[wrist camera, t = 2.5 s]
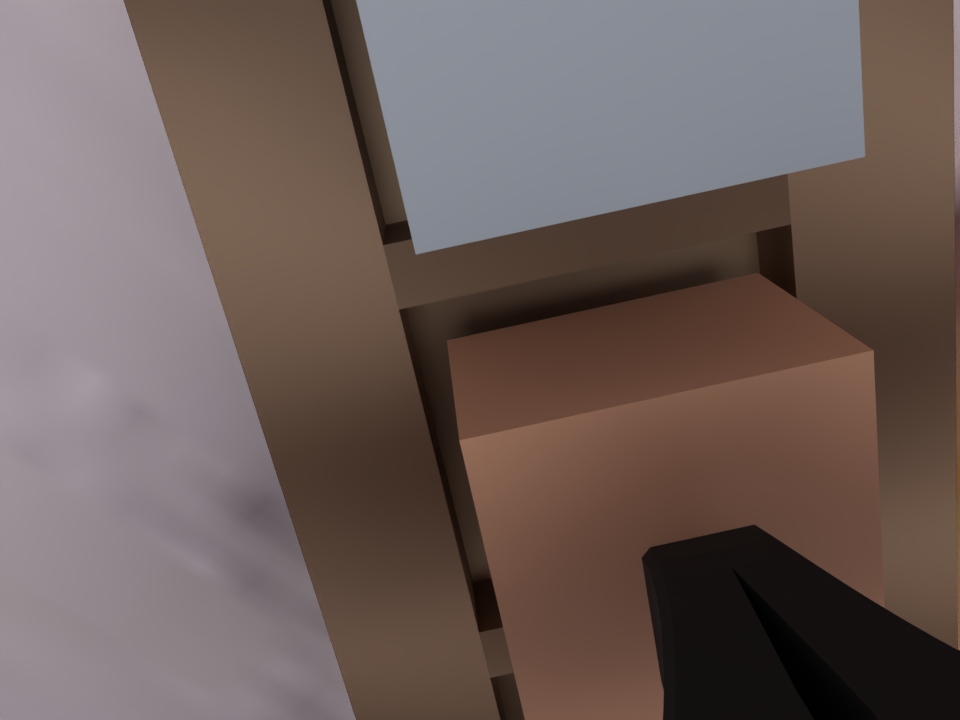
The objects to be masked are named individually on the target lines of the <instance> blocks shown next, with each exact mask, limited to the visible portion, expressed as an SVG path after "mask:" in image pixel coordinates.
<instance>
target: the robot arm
mask: <svg viewBox="0 0 960 720" xmlns="http://www.w3.org/2000/svg"><path fill="white" fill-rule="evenodd" d="M642 564H643V570H644V576H645V583H646V589H647V595H648V601H649V608H650V614H651V620H652V626H653V633H654V639H655V645H656V651H657V658H658V664H659V670H660V676H661V683H662V686H663V689H664V703H663V720H960V651H959V650H957V649H955V648H953V647H952V646H950V645H948V644H946V643H944V642H942V641H940V640H939V639H937V638H935V637H933V636H932V635H930V634H928V633H926V632H925V631H923V630H921V629H919V628H918V627H916V626H914V625H912V624H911V623H909V622H907V621H905V620H904V619H902V618H900V617H899V616H897V615H895V614H894V613H892V612H890V611H889V610H887V609H885V608H884V607H882V606H880V605H879V604H877V603H876V602H874V601H872V600H871V599H869V598H867V597H866V596H864V595H862V594H861V593H859V592H858V591H856V590H854V589H853V588H851V587H850V586H848V585H847V584H845V583H843V582H842V581H840V580H839V579H837V578H836V577H834V576H833V575H831V574H830V573H828V572H826V571H825V570H823V569H822V568H820V567H819V566H817V565H816V564H814V563H813V562H811V561H810V560H808V559H807V558H805V557H804V556H802V555H801V554H799V553H797V552H796V551H794V550H793V549H791V548H790V547H788V546H787V545H785V544H784V543H782V542H781V541H779V540H778V539H776V538H775V537H773V536H772V535H770V534H769V533H767V532H766V531H764V530H763V529H761V528H759V527H758V526H756V525H750V526H745V527H741V528H736V529H732V530H727V531H722V532H718V533H713V534H709V535H704V536H699V537H695V538H690V539H686V540H681V541H676V542H672V543H667V544H663V545H658V546H653V547H650V548H649V549H648V550H647V552H646V553H645V554H644V555H643V557H642Z"/></svg>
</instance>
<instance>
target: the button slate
mask: <svg viewBox="0 0 960 720" xmlns="http://www.w3.org/2000/svg"><path fill="white" fill-rule="evenodd" d="M356 2H357V7H358V11H359V15H360V19H361V24H362V28H363V32H364V37H365V41H366V45H367V49H368V54H369V58H370V62H371V66H372V71H373V75H374V79H375V83H376V88H377V92H378V96H379V100H380V105H381V109H382V113H383V117H384V122H385V126H386V130H387V134H388V139H389V143H390V147H391V152H392V156H393V160H394V164H395V169H396V173H397V177H398V181H399V186H400V190H401V194H402V198H403V203H404V207H405V211H406V215H407V220H408V224H409V228H410V232H411V237H412V241H413V245H414V249H415V254H420V253H425V252H430V251H434V250H439V249H443V248H448V247H453V246H457V245H462V244H466V243H471V242H476V241H480V240H485V239H489V238H494V237H499V236H503V235H508V234H512V233H517V232H522V231H526V230H531V229H535V228H540V227H545V226H549V225H554V224H558V223H563V222H568V221H572V220H577V219H581V218H586V217H591V216H595V215H600V214H604V213H609V212H614V211H618V210H623V209H627V208H632V207H637V206H641V205H646V204H650V203H655V202H659V201H664V200H669V199H673V198H678V197H682V196H687V195H692V194H696V193H701V192H705V191H710V190H715V189H719V188H724V187H728V186H733V185H738V184H742V183H747V182H751V181H756V180H761V179H765V178H770V177H774V176H779V175H784V174H788V173H793V172H797V171H802V170H807V169H811V168H816V167H820V166H825V165H830V164H834V163H839V162H843V161H848V160H853V159H857V158H862V157H865V139H864V116H863V92H862V69H861V46H860V23H859V0H356Z"/></svg>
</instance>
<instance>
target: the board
mask: <svg viewBox="0 0 960 720" xmlns="http://www.w3.org/2000/svg"><path fill="white" fill-rule="evenodd" d="M124 3H125V6H126V9H127V12H128V15H129V19H130V22H131V25H132V28H133V31H134V34H135V37H136V40H137V43H138V46H139V49H140V53H141V56H142V59H143V62H144V65H145V68H146V71H147V74H148V77H149V80H150V83H151V87H152V90H153V93H154V96H155V99H156V102H157V105H158V108H159V111H160V114H161V117H162V121H163V124H164V127H165V130H166V133H167V136H168V139H169V142H170V145H171V148H172V151H173V155H174V158H175V161H176V164H177V167H178V170H179V173H180V176H181V179H182V182H183V185H184V189H185V192H186V195H187V198H188V201H189V204H190V207H191V210H192V213H193V216H194V219H195V223H196V226H197V229H198V232H199V235H200V238H201V241H202V244H203V247H204V250H205V253H206V257H207V260H208V263H209V266H210V269H211V272H212V275H213V278H214V281H215V284H216V287H217V291H218V294H219V297H220V300H221V303H222V306H223V309H224V312H225V315H226V318H227V321H228V325H229V328H230V331H231V334H232V337H233V340H234V343H235V346H236V349H237V352H238V355H239V359H240V362H241V365H242V368H243V371H244V374H245V377H246V380H247V383H248V386H249V389H250V393H251V396H252V399H253V402H254V405H255V408H256V411H257V414H258V417H259V420H260V423H261V427H262V430H263V433H264V436H265V439H266V442H267V445H268V448H269V451H270V454H271V457H272V461H273V464H274V467H275V470H276V473H277V476H278V479H279V482H280V485H281V488H282V491H283V495H284V498H285V501H286V504H287V507H288V510H289V513H290V516H291V519H292V522H293V525H294V529H295V532H296V535H297V538H298V541H299V544H300V547H301V550H302V553H303V556H304V559H305V563H306V566H307V569H308V572H309V575H310V578H311V581H312V584H313V587H314V590H315V593H316V597H317V600H318V603H319V606H320V609H321V612H322V615H323V618H324V621H325V624H326V627H327V631H328V634H329V637H330V640H331V643H332V646H333V649H334V652H335V655H336V658H337V661H338V665H339V668H340V671H341V674H342V677H343V680H344V683H345V686H346V689H347V692H348V695H349V699H350V702H351V705H352V708H353V711H354V714H355V717H356V720H525V718H524V714H523V709H522V705H521V701H520V697H519V692H518V688H517V684H516V680H515V675H514V671H513V667H512V663H511V658H510V654H509V650H508V646H507V641H506V637H505V633H504V628H503V624H502V620H501V616H500V611H499V607H498V603H497V599H496V594H495V590H494V586H493V582H492V577H491V573H490V569H489V565H488V560H487V556H486V552H485V548H484V543H483V539H482V535H481V531H480V526H479V522H478V518H477V514H476V509H475V505H474V501H473V496H472V492H471V488H470V484H469V479H468V475H467V471H466V467H465V462H464V458H463V454H462V450H461V445H460V441H459V434H458V426H457V418H456V410H455V402H454V394H453V386H452V378H451V370H450V362H449V353H448V345H447V340H451V339H456V338H460V337H465V336H470V335H474V334H479V333H483V332H488V331H493V330H497V329H502V328H506V327H511V326H516V325H520V324H525V323H529V322H534V321H538V320H543V319H548V318H552V317H557V316H561V315H566V314H571V313H575V312H580V311H584V310H589V309H594V308H598V307H603V306H607V305H612V304H617V303H621V302H626V301H630V300H635V299H640V298H644V297H649V296H653V295H658V294H663V293H667V292H672V291H676V290H681V289H685V288H690V287H695V286H699V285H704V284H708V283H713V282H718V281H722V280H727V279H731V278H736V277H741V276H745V275H750V274H754V273H759V274H761V275H762V276H764V277H765V278H767V279H768V280H770V281H771V282H772V283H774V284H775V285H777V286H778V287H780V288H781V289H783V290H784V291H786V292H787V293H789V294H790V295H792V296H793V297H795V298H796V299H798V300H799V301H801V302H802V303H804V304H805V305H807V306H808V307H810V308H811V309H813V310H814V311H816V312H817V313H819V314H820V315H822V316H823V317H825V318H826V319H828V320H829V321H831V322H832V323H834V324H835V325H837V326H838V327H840V328H841V329H843V330H844V331H845V332H847V333H848V334H850V335H851V336H853V337H854V338H856V339H857V340H859V341H860V342H862V343H863V344H865V345H866V346H868V347H869V348H871V349H872V350H874V372H875V395H876V419H877V442H878V465H879V489H880V512H881V535H882V559H883V582H884V605H885V609H887V610H889V611H890V612H892V613H894V614H895V615H897V616H899V617H900V618H902V619H904V620H905V621H907V622H909V623H911V624H912V625H914V626H916V627H918V628H919V629H921V630H923V631H925V632H926V633H928V634H930V635H932V636H933V637H935V638H937V639H939V640H940V641H942V642H944V643H946V644H948V645H950V646H952V647H953V648H955V649H957V650H958V624H957V475H956V326H955V178H954V29H953V0H859V23H860V46H861V69H862V92H863V116H864V139H865V157H862V158H857V159H853V160H848V161H843V162H839V163H834V164H830V165H825V166H820V167H816V168H811V169H807V170H802V171H797V172H793V173H788V174H784V175H779V176H774V177H770V178H765V179H761V180H756V181H751V182H747V183H742V184H738V185H733V186H728V187H724V188H719V189H715V190H710V191H705V192H701V193H696V194H692V195H687V196H682V197H678V198H673V199H669V200H664V201H659V202H655V203H650V204H646V205H641V206H637V207H632V208H627V209H623V210H618V211H614V212H609V213H604V214H600V215H595V216H591V217H586V218H581V219H577V220H572V221H568V222H563V223H558V224H554V225H549V226H545V227H540V228H535V229H531V230H526V231H522V232H517V233H512V234H508V235H503V236H499V237H494V238H489V239H485V240H480V241H476V242H471V243H466V244H462V245H457V246H453V247H448V248H443V249H439V250H434V251H430V252H425V253H420V254H415V249H414V245H413V241H412V237H411V232H410V228H409V224H408V220H407V215H406V211H405V207H404V203H403V198H402V194H401V190H400V186H399V181H398V177H397V173H396V169H395V164H394V160H393V156H392V152H391V147H390V143H389V139H388V134H387V130H386V126H385V122H384V117H383V113H382V109H381V105H380V100H379V96H378V92H377V88H376V83H375V79H374V75H373V71H372V66H371V62H370V58H369V54H368V49H367V45H366V41H365V37H364V32H363V28H362V24H361V19H360V15H359V11H358V7H357V2H356V0H124Z"/></svg>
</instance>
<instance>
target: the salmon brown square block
mask: <svg viewBox="0 0 960 720" xmlns="http://www.w3.org/2000/svg"><path fill="white" fill-rule="evenodd" d="M447 345H448V353H449V362H450V370H451V378H452V386H453V394H454V402H455V410H456V418H457V426H458V434H459V441H460V445H461V450H462V454H463V458H464V462H465V467H466V471H467V475H468V479H469V484H470V488H471V492H472V496H473V501H474V505H475V509H476V514H477V518H478V522H479V526H480V531H481V535H482V539H483V543H484V548H485V552H486V556H487V560H488V565H489V569H490V573H491V577H492V582H493V586H494V590H495V594H496V599H497V603H498V607H499V611H500V616H501V620H502V624H503V628H504V633H505V637H506V641H507V646H508V650H509V654H510V658H511V663H512V667H513V671H514V675H515V680H516V684H517V688H518V692H519V697H520V701H521V705H522V709H523V714H524V718H525V720H663V703H664V689H663V686H662V683H661V676H660V670H659V664H658V658H657V651H656V645H655V639H654V633H653V626H652V620H651V614H650V608H649V601H648V595H647V589H646V583H645V576H644V570H643V564H642V557H643V555H644V554H645V553H646V552H647V550H648V549H649V548H650V547H653V546H658V545H663V544H667V543H672V542H676V541H681V540H686V539H690V538H695V537H699V536H704V535H709V534H713V533H718V532H722V531H727V530H732V529H736V528H741V527H745V526H750V525H756V526H758V527H759V528H761V529H763V530H764V531H766V532H767V533H769V534H770V535H772V536H773V537H775V538H776V539H778V540H779V541H781V542H782V543H784V544H785V545H787V546H788V547H790V548H791V549H793V550H794V551H796V552H797V553H799V554H801V555H802V556H804V557H805V558H807V559H808V560H810V561H811V562H813V563H814V564H816V565H817V566H819V567H820V568H822V569H823V570H825V571H826V572H828V573H830V574H831V575H833V576H834V577H836V578H837V579H839V580H840V581H842V582H843V583H845V584H847V585H848V586H850V587H851V588H853V589H854V590H856V591H858V592H859V593H861V594H862V595H864V596H866V597H867V598H869V599H871V600H872V601H874V602H876V603H877V604H879V605H880V606H882V607H884V608H885V605H884V582H883V559H882V535H881V512H880V489H879V465H878V442H877V419H876V395H875V372H874V350H872V349H871V348H869V347H868V346H866V345H865V344H863V343H862V342H860V341H859V340H857V339H856V338H854V337H853V336H851V335H850V334H848V333H847V332H845V331H844V330H843V329H841V328H840V327H838V326H837V325H835V324H834V323H832V322H831V321H829V320H828V319H826V318H825V317H823V316H822V315H820V314H819V313H817V312H816V311H814V310H813V309H811V308H810V307H808V306H807V305H805V304H804V303H802V302H801V301H799V300H798V299H796V298H795V297H793V296H792V295H790V294H789V293H787V292H786V291H784V290H783V289H781V288H780V287H778V286H777V285H775V284H774V283H772V282H771V281H770V280H768V279H767V278H765V277H764V276H762V275H761V274H759V273H754V274H750V275H745V276H741V277H736V278H731V279H727V280H722V281H718V282H713V283H708V284H704V285H699V286H695V287H690V288H685V289H681V290H676V291H672V292H667V293H663V294H658V295H653V296H649V297H644V298H640V299H635V300H630V301H626V302H621V303H617V304H612V305H607V306H603V307H598V308H594V309H589V310H584V311H580V312H575V313H571V314H566V315H561V316H557V317H552V318H548V319H543V320H538V321H534V322H529V323H525V324H520V325H516V326H511V327H506V328H502V329H497V330H493V331H488V332H483V333H479V334H474V335H470V336H465V337H460V338H456V339H451V340H447Z"/></svg>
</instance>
